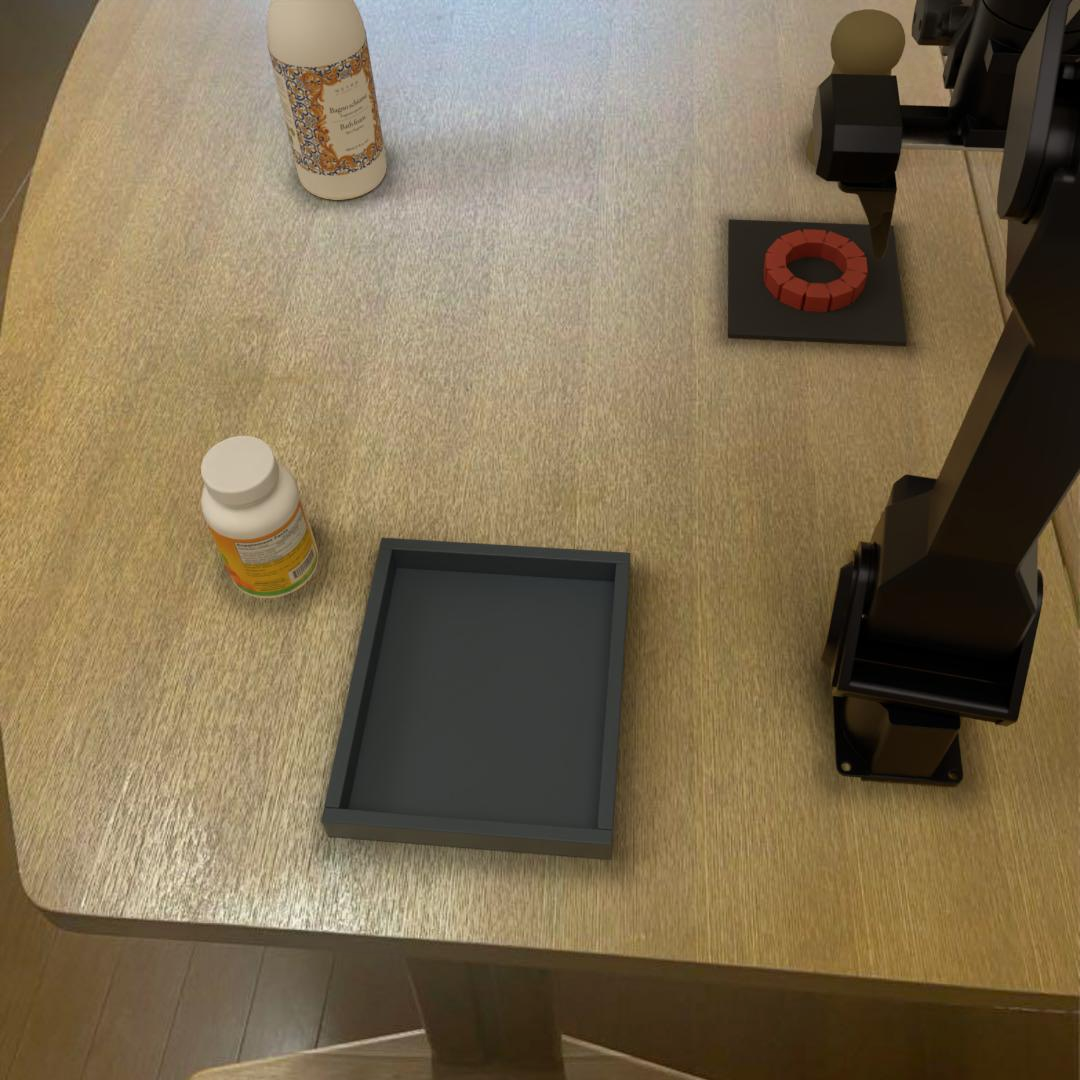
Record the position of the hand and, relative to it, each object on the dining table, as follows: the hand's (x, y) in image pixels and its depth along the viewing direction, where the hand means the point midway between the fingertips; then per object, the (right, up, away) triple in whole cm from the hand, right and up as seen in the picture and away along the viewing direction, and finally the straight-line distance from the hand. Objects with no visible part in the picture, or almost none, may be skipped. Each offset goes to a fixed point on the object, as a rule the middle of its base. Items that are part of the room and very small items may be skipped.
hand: (958, 258), depth 68 cm
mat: (-5, +2, +17) cm, 17 cm away
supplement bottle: (-40, -18, +4) cm, 44 cm away
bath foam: (-39, +12, +25) cm, 48 cm away
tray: (-27, -25, -2) cm, 37 cm away
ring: (-5, +2, +16) cm, 17 cm away
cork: (0, +14, +25) cm, 29 cm away
